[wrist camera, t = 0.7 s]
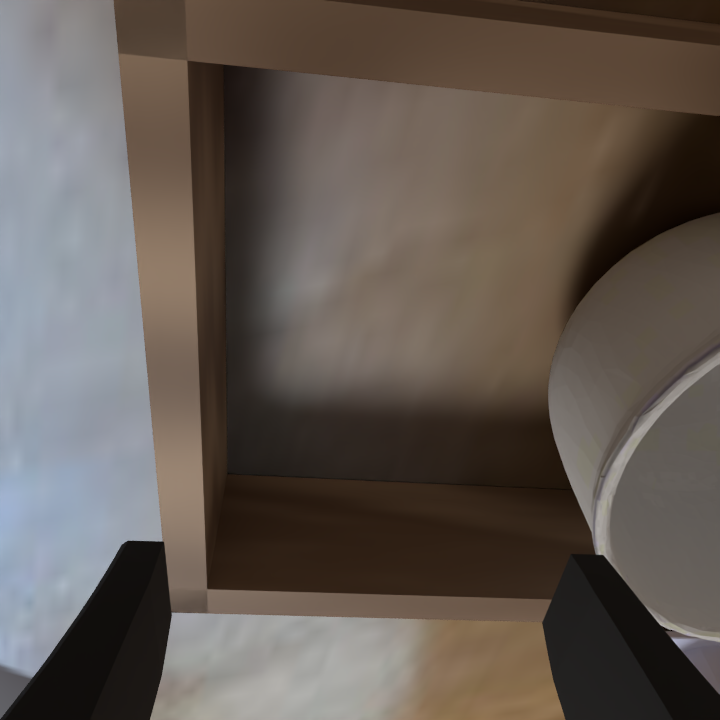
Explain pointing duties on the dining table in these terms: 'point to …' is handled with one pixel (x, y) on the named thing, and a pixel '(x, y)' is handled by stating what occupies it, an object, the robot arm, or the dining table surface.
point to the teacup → (650, 422)
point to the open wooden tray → (208, 297)
